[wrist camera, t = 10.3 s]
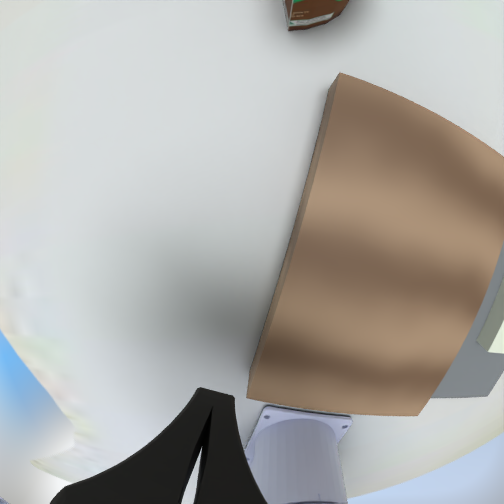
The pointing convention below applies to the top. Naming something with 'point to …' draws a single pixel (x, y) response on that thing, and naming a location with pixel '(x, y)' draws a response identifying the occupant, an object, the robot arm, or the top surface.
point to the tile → (494, 326)
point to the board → (381, 258)
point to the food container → (311, 12)
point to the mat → (475, 353)
